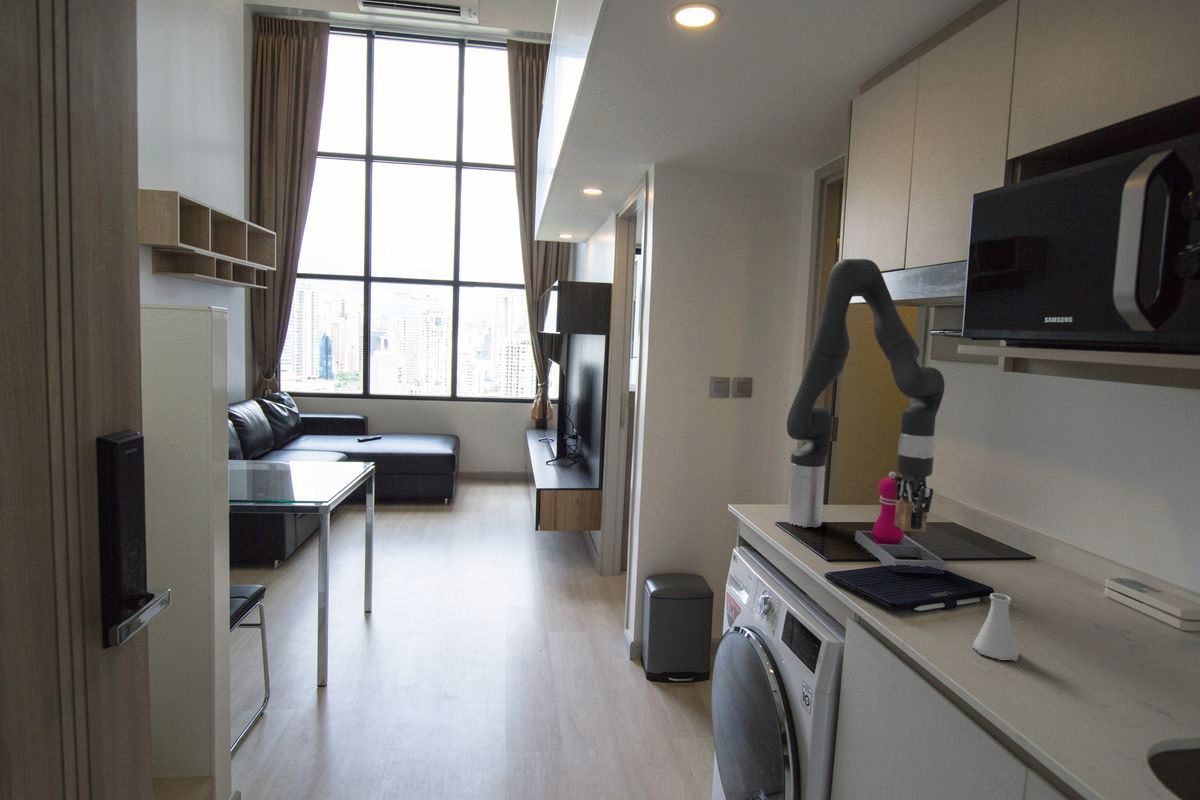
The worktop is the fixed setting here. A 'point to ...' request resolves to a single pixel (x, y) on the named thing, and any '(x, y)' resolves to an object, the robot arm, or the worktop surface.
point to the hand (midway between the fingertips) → (910, 524)
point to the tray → (899, 551)
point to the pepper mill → (887, 514)
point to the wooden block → (907, 516)
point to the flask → (997, 631)
